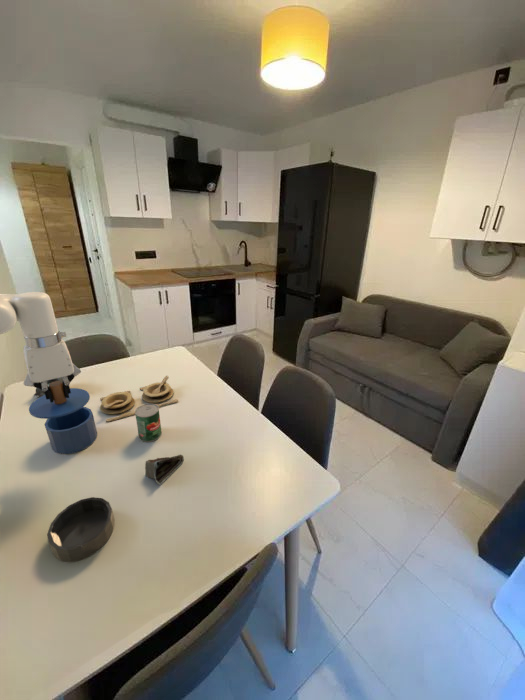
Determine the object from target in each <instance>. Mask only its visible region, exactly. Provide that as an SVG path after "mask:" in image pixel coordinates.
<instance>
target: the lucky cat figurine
mask: <svg viewBox="0 0 525 700" xmlns="http://www.w3.org/2000/svg"><path fill="white" fill-rule="evenodd" d="M55 381H61V382H62V383H63V379H62V377H60V378H56V379H52V380H47V385H48V387H49V384H50V383H52V382H55ZM43 395H45V393H44V391H42V390H41V389H38V388H36V387H35V393H34V394H33V396H34V397H41V396H43Z"/></svg>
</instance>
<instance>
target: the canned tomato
mask: <svg viewBox="0 0 525 700" xmlns="http://www.w3.org/2000/svg"><path fill="white" fill-rule="evenodd" d="M155 404H156V403H144V404H141V405H140V406H138V407H137V408H136V409H135V410H134V411H135V415H134V416H135V420H136V427H137V433H138V439H139V441H141V442H142V443H143V442H144V443H151V442H154V441H157V440H158V439H160V438H161V436H162V433H163V431H162V425H161V419H160V418H161V417H160V407H158V406H157V405H155Z"/></svg>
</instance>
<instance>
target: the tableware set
mask: <svg viewBox="0 0 525 700" xmlns="http://www.w3.org/2000/svg"><path fill="white" fill-rule="evenodd" d="M168 379H169V375H165V376H164V377H163V379H162V381H160V382H153V383H150V384H149V385H145V386H142V387H139V390H140V391H142V394H141V398H142V400H143V401H144V402H147V403H148V404H155V405H157V406H158V407H159V408H161V407H165V406H168V405H173V404H176V403H178V402H179V399H176V398H175V399H172V400H169V399H171V398H172V397H173V396H174V394H175V393H174V389H173V388H172V386H171V385H170V384H169V383H168V382H167V381H168ZM100 401H101V402H100V403H101V404H100V406H99V410H100V412H102V413H103V414H106V415H117V416H112V417H109V418H107V419H105V422H106V423H110V422H114V421H117V420H121V419H124V418H128V417H131V416H136V415H135V410H132V411H129V410H130V409H132V408H133V407H134V406H135V404H136V400H135V398H134V397H133V395H132V393H131V390H126V391H117V392H112V393H110V394H108V395H106V396H103V397H100ZM118 414H120V415H118Z"/></svg>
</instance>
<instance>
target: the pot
mask: <svg viewBox="0 0 525 700" xmlns="http://www.w3.org/2000/svg"><path fill="white" fill-rule="evenodd" d="M45 420H46V421H45V423H44V427H45V428H44V429H45V431H46V433H47V437H48V440H49V443H50V446H51V449H52V451H53V452H54V453H56V454H58V455H70V454H75V453H79V452H81V451H84V450H85V449H87V448H88V447H90V446H91V445H93V443H94V442H95V441H96V440H97V437H98V431H97V427H96V421H95V417H94V413H93V411H92V409H91V408H89V407H86V406H84V407H82V408H81V409H79V410H77V411H75V412H73V413H71V414H68V415H65V416H61V417H57V418H49V419H45Z"/></svg>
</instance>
